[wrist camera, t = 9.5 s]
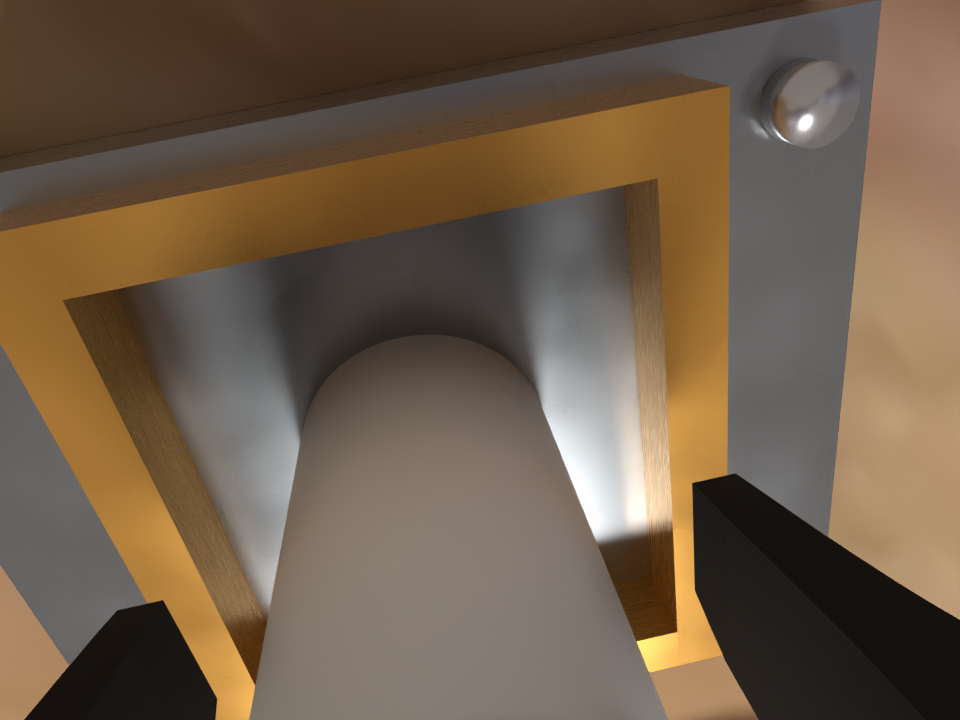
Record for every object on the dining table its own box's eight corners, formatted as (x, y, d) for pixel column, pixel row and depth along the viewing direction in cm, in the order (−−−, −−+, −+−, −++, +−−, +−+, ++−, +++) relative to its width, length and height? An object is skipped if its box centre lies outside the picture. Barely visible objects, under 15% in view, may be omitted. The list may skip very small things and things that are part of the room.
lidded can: (530, 311, 12) (751, 762, 5) (556, 512, 14) (736, 1030, 7) (270, 363, 11) (100, 910, 4) (336, 557, 13) (291, 1136, 7)
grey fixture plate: (806, 0, 12) (959, -3, 9) (777, 526, 17) (864, 637, 14) (-140, 184, 11) (-337, 254, 8) (151, 668, 17) (100, 816, 14)
